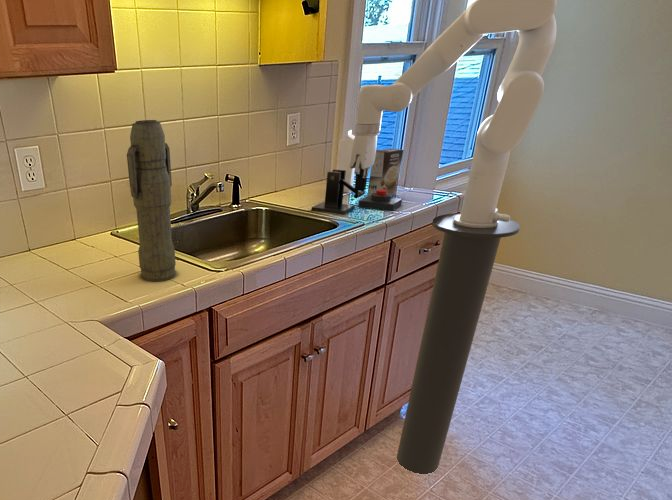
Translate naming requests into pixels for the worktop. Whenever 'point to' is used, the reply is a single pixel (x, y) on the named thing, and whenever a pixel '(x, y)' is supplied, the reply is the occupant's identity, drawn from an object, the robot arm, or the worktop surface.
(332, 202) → the black lever stand
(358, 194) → the lever
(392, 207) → the control block
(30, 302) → the worktop surface
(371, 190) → the coffee box
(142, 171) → the grey stone statue
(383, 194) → the setting button
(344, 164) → the milk
